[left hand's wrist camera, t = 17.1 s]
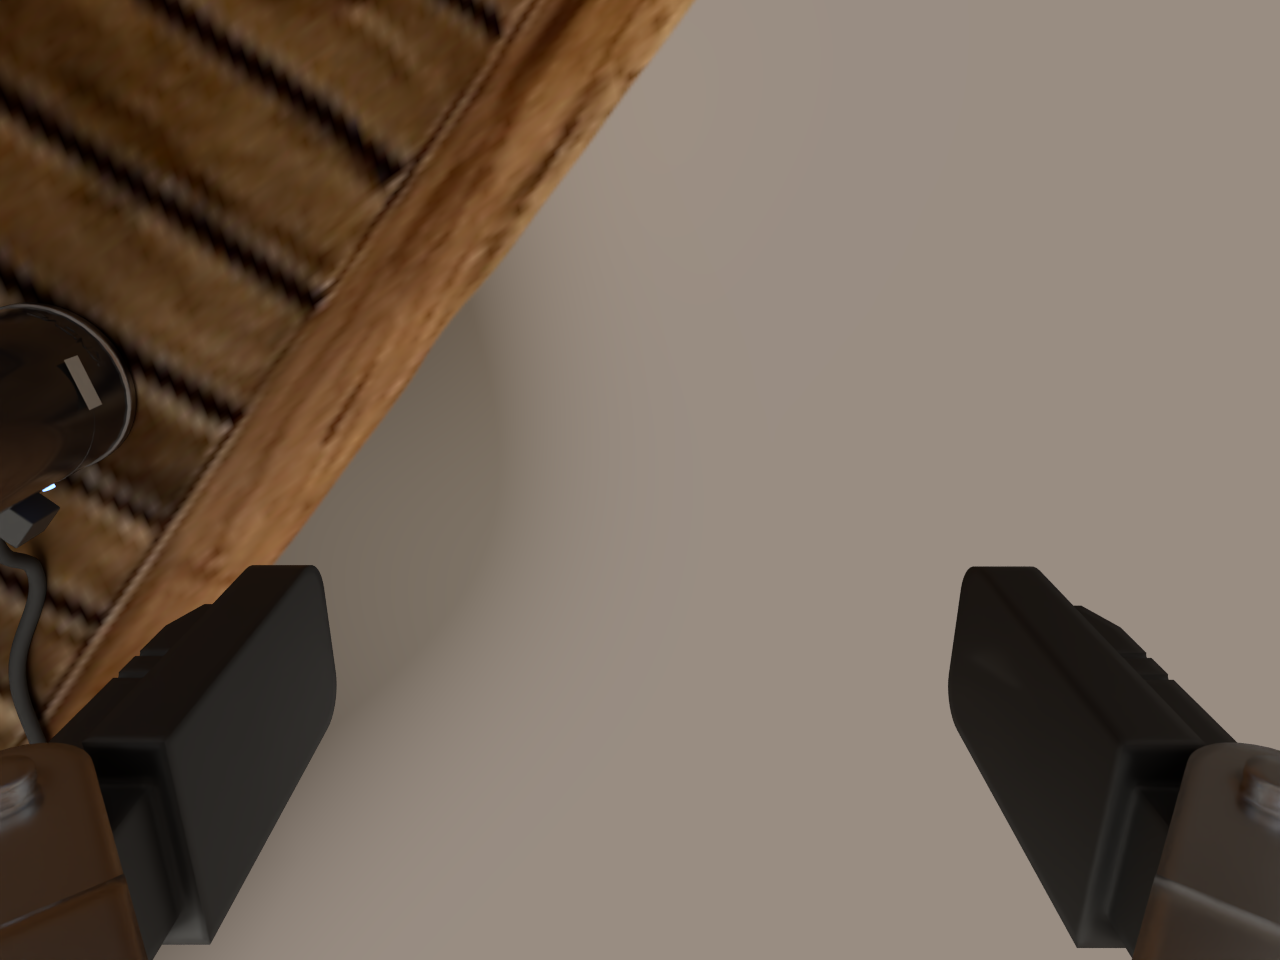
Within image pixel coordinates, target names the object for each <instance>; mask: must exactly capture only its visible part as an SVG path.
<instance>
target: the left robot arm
mask: <svg viewBox="0 0 1280 960" xmlns="http://www.w3.org/2000/svg"><path fill="white" fill-rule="evenodd" d="M135 411H136V395H135V388H134V384H133V380H132V377H131V374H130V371H129V369H128V367H127V365H126V363H125V361H124V359H123V357H122V356H121V354H120V353H119V351H118V350H117V348H116V347H115V346H114V344H113V343H112V342H111V341H110V340H109V339H108V338H107V337H106V336H105V335H104V334H103V333H102V332H101V331H100V330H99V329H98V328H96V327H95V326H94V325H93V324H91V323H90V322H88V321H87V320H85V319H84V318H82V317H80V316H79V315H77V314H75V313H73V312H71V311H68V310H66V309H63V308H60V307H57V306H53V305H49V304H44V303H34V302H30V303H17V304H12V305H8V306H4V307H0V563H1V564H3V565H6V566H9V567H13V568H19V569H23V570H25V572H26V574H27V576H28V581H29V593H28V598H27V602H26V606H25V609H24V612H23V615H22V618H21V620H20V623H19V626H18V628H17V631H16V634H15V637H14V641H13V644H12V648H11V652H10V659H9V683H10V689H11V694H12V698H13V702H14V705H15V708H16V711H17V714H18V716H19V719H20V721H21V724H22V726H23V729H24V731H25V734H26V736H27V738H28V741H29V743H30V744H27V745H22V746H17V747H12V748H8V749H4V750H1V751H0V960H153V958H154V957H155V955H156V953H157V952H158V950H159V948H160V947H161V945H164V944H167V945H168V944H174V945H175V944H176V945H178V944H179V945H182V944H183V945H185V944H188V945H189V944H194V945H195V944H196V945H198V944H199V945H202V944H203V945H204V944H205V945H206V944H208V945H209V944H211V942H212V940H213V938H214V936H215V935H216V933H217V931H218V929H219V927H220V925H221V923H222V922H223V920H224V918H225V916H226V914H227V912H228V911H229V909H230V907H231V905H232V903H233V901H234V900H235V898H236V896H237V894H238V892H239V890H240V888H241V887H242V885H243V883H244V881H245V879H246V877H247V876H248V874H249V872H250V870H251V868H252V866H253V865H254V863H255V861H256V859H257V857H258V855H259V854H260V852H261V850H262V848H263V846H264V844H265V843H266V841H267V839H268V837H269V835H270V833H271V831H272V830H273V828H274V826H275V824H276V822H277V820H278V819H279V817H280V815H281V813H282V811H283V809H284V808H285V806H286V804H287V802H288V800H289V798H290V797H291V795H292V793H293V791H294V789H295V787H296V785H297V784H298V782H299V780H300V778H301V776H302V774H303V773H304V771H305V769H306V767H307V765H308V763H309V762H310V760H311V758H312V756H313V754H314V752H315V750H316V749H317V747H318V745H319V743H320V741H321V739H322V738H323V736H324V734H325V732H326V730H327V728H328V726H329V724H330V721H331V719H332V715H333V711H334V706H335V700H336V671H335V664H334V657H333V650H332V642H331V635H330V628H329V621H328V614H327V607H326V599H325V592H324V586H323V581H322V577H321V575H320V572H319V571H318V569H317V568H316V567H315V566H313V565H252V566H249V567H248V568H247V569H245V571H244V572H243V573H242V574H241V575H240V576H239V577H238V578H237V579H236V580H235V581H234V582H233V583H232V584H231V585H230V586H229V587H228V588H227V590H226V591H225V592H224V593H223V594H222V595H221V596H220V597H219V598H218V599H217V600H216V601H215V602H214V603H213V604H204V605H202V606H200V607H198V608H197V609H195V610H193V611H191V612H189V613H188V614H186V615H184V616H182V617H180V618H179V619H177V620H175V621H173V622H171V623H170V624H168V625H166V626H165V627H164V628H163V629H162V630H161V631H160V632H159V633H158V634H157V635H156V636H155V637H154V638H153V639H152V640H151V641H150V642H149V643H148V644H147V645H146V646H145V647H144V648H143V649H142V650H141V651H140V656H135V657H134V658H133V659H132V660H131V661H130V662H129V663H128V664H127V665H126V666H125V667H124V668H123V669H122V670H121V671H120V672H119V677H118V678H113V679H112V680H111V681H110V682H109V683H108V684H107V685H106V686H105V687H104V688H103V689H102V690H101V691H100V692H99V693H98V694H97V695H96V696H95V697H94V698H93V699H92V700H91V701H90V702H89V703H88V704H87V705H86V706H85V707H83V708H82V709H81V710H80V711H79V712H78V713H77V714H76V715H75V716H74V717H73V718H72V719H71V720H70V721H69V722H68V723H67V724H66V725H65V726H64V727H63V728H62V729H61V730H60V731H59V732H58V733H57V734H56V735H55V736H54V737H53V738H52V739H51V740H50V741H49V742H48V743H47V741H46V739H45V736H44V734H43V731H42V729H41V726H40V724H39V721H38V719H37V716H36V714H35V711H34V708H33V705H32V703H31V699H30V696H29V691H28V686H27V679H26V661H27V654H28V650H29V646H30V643H31V640H32V636H33V634H34V631H35V628H36V625H37V623H38V620H39V617H40V614H41V611H42V608H43V604H44V600H45V596H46V586H47V584H46V576H45V573H44V570H43V567H42V565H41V563H40V561H39V560H38V559H36V558H35V557H32V556H30V555H27V554H23V553H17V552H13V551H12V550H10V548H9V547H8V546H7V544H6V543H5V541H6V542H7V543H9V544H10V545H12V546H13V547H15V548H18V547H19V546H21V545H22V544H24V543H26V542H27V541H29V540H30V539H32V538H33V537H35V536H37V535H38V534H40V533H41V532H43V531H44V530H45V529H46V527H47V526H48V525H49V523H50V522H51V520H52V519H53V518H54V516H55V515H56V513H57V512H58V510H59V509H60V507H59V506H57V505H56V504H54V503H53V502H52V501H50V500H49V499H47V498H46V497H44V496H43V495H41V494H40V493H39V492H40V491H42V490H43V491H47V490H50V489H52V488H54V487H55V485H54V484H55V483H56V482H59V481H61V480H62V479H64V478H66V477H68V476H70V475H71V474H73V473H75V472H77V471H78V470H80V469H82V468H84V467H87V466H90V465H92V464H94V463H96V462H98V461H100V460H102V459H103V458H105V457H107V456H109V455H110V454H111V453H113V452H114V451H115V450H116V449H117V448H118V447H119V446H120V445H121V444H122V443H123V442H124V440H125V439H126V437H127V436H128V434H129V432H130V430H131V428H132V425H133V422H134V417H135ZM948 694H949V704H950V710H951V714H952V718H953V721H954V724H955V726H956V728H957V731H958V732H959V734H960V736H961V738H962V740H963V741H964V743H965V745H966V747H967V749H968V751H969V752H970V754H971V756H972V758H973V760H974V761H975V763H976V765H977V767H978V769H979V771H980V772H981V774H982V776H983V778H984V780H985V781H986V783H987V785H988V787H989V789H990V791H991V792H992V794H993V796H994V798H995V800H996V801H997V803H998V805H999V807H1000V809H1001V811H1002V812H1003V814H1004V816H1005V818H1006V820H1007V821H1008V823H1009V825H1010V827H1011V829H1012V830H1013V832H1014V834H1015V836H1016V838H1017V840H1018V841H1019V843H1020V845H1021V847H1022V849H1023V850H1024V852H1025V854H1026V856H1027V858H1028V860H1029V861H1030V863H1031V865H1032V867H1033V869H1034V870H1035V872H1036V874H1037V876H1038V878H1039V880H1040V881H1041V883H1042V885H1043V887H1044V889H1045V890H1046V892H1047V894H1048V896H1049V898H1050V900H1051V901H1052V903H1053V905H1054V907H1055V909H1056V911H1057V912H1058V914H1059V916H1060V918H1061V920H1062V921H1063V923H1064V925H1065V927H1066V929H1067V931H1068V932H1069V934H1070V936H1071V938H1072V939H1073V941H1074V943H1075V945H1076V947H1077V948H1126V949H1127V951H1128V952H1129V954H1130V955H1131V957H1132V960H1280V751H1279V750H1276V749H1272V748H1268V747H1263V746H1258V745H1253V744H1244V743H1237V742H1236V741H1235V740H1234V739H1233V738H1232V737H1231V736H1230V735H1229V734H1228V733H1227V732H1226V731H1225V730H1224V729H1223V728H1222V727H1221V726H1220V725H1219V724H1218V723H1217V722H1216V721H1215V720H1214V719H1213V718H1212V717H1211V716H1210V715H1209V714H1208V713H1207V712H1206V711H1205V710H1204V709H1203V708H1202V707H1201V706H1200V705H1199V704H1198V703H1196V702H1195V701H1194V700H1193V699H1192V698H1191V697H1190V696H1189V695H1188V694H1187V693H1186V692H1185V691H1184V690H1183V689H1182V688H1181V687H1180V686H1179V685H1178V684H1177V683H1176V682H1175V681H1174V680H1168V674H1167V673H1166V672H1165V671H1164V670H1163V669H1162V668H1161V667H1160V666H1159V665H1158V664H1157V663H1156V662H1155V661H1154V660H1153V659H1152V658H1147V657H1146V652H1145V651H1144V650H1143V649H1142V648H1141V647H1140V646H1139V645H1138V644H1137V643H1136V642H1135V641H1134V640H1133V639H1132V638H1131V637H1130V636H1129V635H1128V634H1127V633H1126V632H1125V631H1124V630H1123V629H1121V628H1120V627H1119V626H1117V625H1115V624H1113V623H1111V622H1110V621H1108V620H1106V619H1104V618H1102V617H1101V616H1099V615H1097V614H1095V613H1093V612H1092V611H1090V610H1088V609H1086V608H1084V607H1083V606H1073V605H1072V604H1071V603H1070V602H1069V601H1068V600H1067V599H1066V598H1065V596H1064V595H1063V594H1062V593H1061V592H1060V591H1059V590H1058V589H1057V588H1056V587H1055V586H1054V585H1053V584H1052V583H1051V582H1050V581H1049V580H1048V579H1047V578H1046V577H1045V576H1044V575H1043V574H1042V572H1041V571H1040V570H1038V569H1037V568H1035V567H971V568H969V569H968V570H967V572H966V574H965V576H964V578H963V582H962V586H961V593H960V600H959V607H958V614H957V621H956V628H955V635H954V642H953V649H952V656H951V663H950V670H949V679H948Z"/></svg>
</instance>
